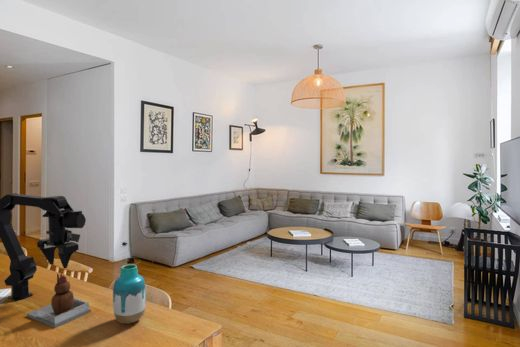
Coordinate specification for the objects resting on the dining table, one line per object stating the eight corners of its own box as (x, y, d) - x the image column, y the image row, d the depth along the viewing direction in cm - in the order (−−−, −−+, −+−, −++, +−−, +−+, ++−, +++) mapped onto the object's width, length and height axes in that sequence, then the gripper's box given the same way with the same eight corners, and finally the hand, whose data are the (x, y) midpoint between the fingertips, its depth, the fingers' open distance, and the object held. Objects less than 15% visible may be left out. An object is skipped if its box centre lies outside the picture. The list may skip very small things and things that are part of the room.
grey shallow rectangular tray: (26, 316, 118) (26, 306, 118) (63, 301, 130) (62, 293, 129) (54, 328, 110) (54, 317, 110) (90, 311, 121) (90, 302, 121)
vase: (152, 316, 118) (151, 263, 117) (132, 330, 108) (130, 273, 107) (128, 311, 122) (127, 260, 121) (106, 325, 112) (104, 269, 111)
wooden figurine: (57, 318, 114) (55, 276, 113) (49, 314, 117) (47, 273, 117) (77, 311, 120) (75, 270, 119) (68, 307, 123) (67, 267, 122)
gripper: (90, 226, 134) (91, 264, 135) (63, 221, 143) (64, 257, 144) (63, 232, 124) (64, 272, 125) (35, 226, 133) (37, 264, 134)
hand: (58, 266), depth 133 cm, fingers open, 9 cm apart
